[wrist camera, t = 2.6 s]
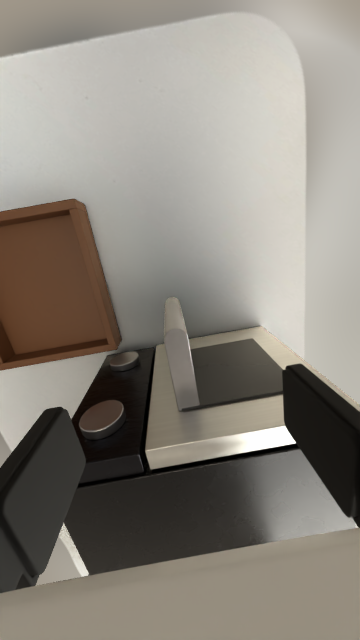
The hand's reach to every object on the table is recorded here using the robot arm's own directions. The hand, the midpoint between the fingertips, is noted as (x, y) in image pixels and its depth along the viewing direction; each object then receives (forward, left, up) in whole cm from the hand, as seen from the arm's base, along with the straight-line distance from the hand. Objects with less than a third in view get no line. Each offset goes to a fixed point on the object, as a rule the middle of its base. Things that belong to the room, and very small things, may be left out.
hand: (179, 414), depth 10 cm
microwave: (+10, +12, -18) cm, 24 cm away
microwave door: (-2, +4, -18) cm, 19 cm away
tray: (+7, -13, -19) cm, 23 cm away
